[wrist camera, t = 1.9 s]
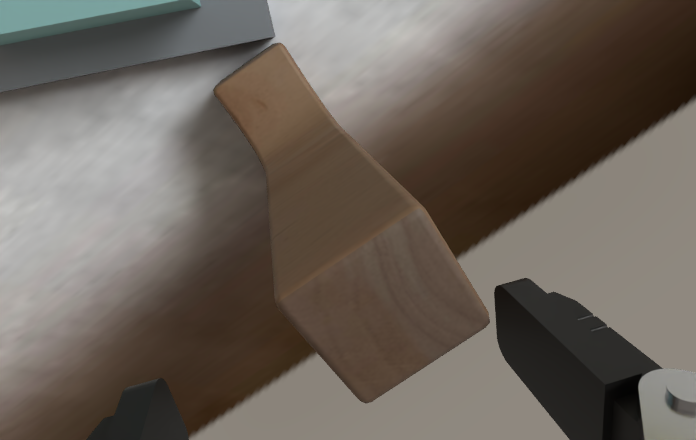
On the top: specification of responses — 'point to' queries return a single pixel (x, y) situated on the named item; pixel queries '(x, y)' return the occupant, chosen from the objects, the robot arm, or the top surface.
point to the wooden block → (347, 237)
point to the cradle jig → (116, 34)
